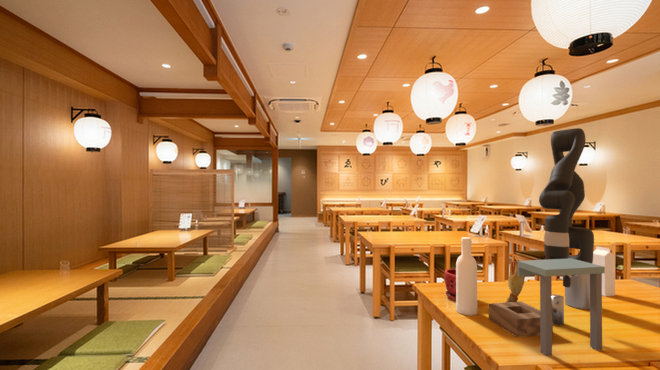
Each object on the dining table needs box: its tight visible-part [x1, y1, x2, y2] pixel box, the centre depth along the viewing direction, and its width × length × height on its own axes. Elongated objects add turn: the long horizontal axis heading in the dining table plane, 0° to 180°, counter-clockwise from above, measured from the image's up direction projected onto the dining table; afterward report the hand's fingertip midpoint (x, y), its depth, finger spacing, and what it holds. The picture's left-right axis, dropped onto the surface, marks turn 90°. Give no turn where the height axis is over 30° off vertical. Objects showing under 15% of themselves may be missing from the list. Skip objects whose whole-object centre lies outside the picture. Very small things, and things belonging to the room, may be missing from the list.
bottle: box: [455, 236, 478, 316], centre depth 124 cm, size 8×8×30 cm
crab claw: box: [505, 260, 526, 302], centre depth 125 cm, size 7×5×20 cm
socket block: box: [488, 300, 554, 338], centre depth 111 cm, size 14×14×6 cm
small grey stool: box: [516, 258, 605, 357], centre depth 98 cm, size 21×11×26 cm, turn 99°
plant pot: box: [444, 268, 456, 302], centre depth 139 cm, size 13×13×12 cm
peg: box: [552, 293, 565, 326], centre depth 113 cm, size 4×4×10 cm
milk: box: [592, 246, 616, 297], centre depth 144 cm, size 6×6×22 cm
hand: (556, 287), depth 113 cm, fingers open, 8 cm apart
